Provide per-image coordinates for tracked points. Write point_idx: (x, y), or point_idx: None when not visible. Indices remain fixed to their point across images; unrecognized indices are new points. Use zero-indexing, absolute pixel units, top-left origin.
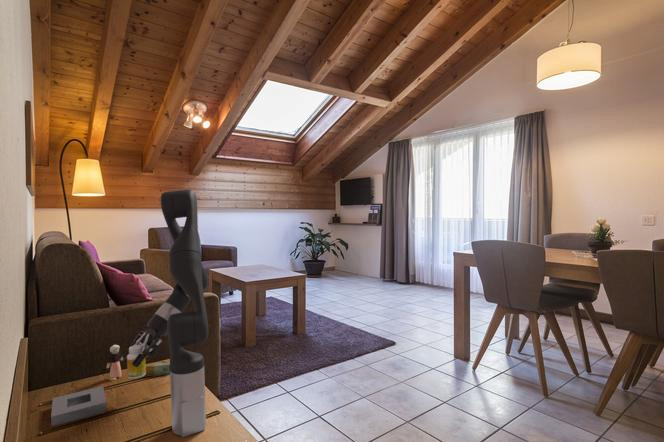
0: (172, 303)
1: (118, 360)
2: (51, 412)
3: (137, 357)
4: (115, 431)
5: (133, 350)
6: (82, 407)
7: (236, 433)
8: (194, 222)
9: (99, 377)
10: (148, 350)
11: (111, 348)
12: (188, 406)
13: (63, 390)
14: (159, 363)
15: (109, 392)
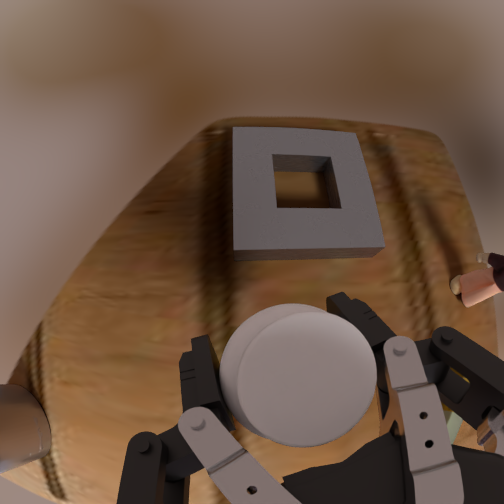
0: None
1: (501, 288)
2: (261, 127)
3: (196, 378)
4: (94, 274)
5: (243, 354)
6: (240, 186)
7: None
8: None
9: (476, 251)
10: (127, 471)
11: None
12: None
13: (432, 174)
14: (458, 426)
15: (379, 274)
